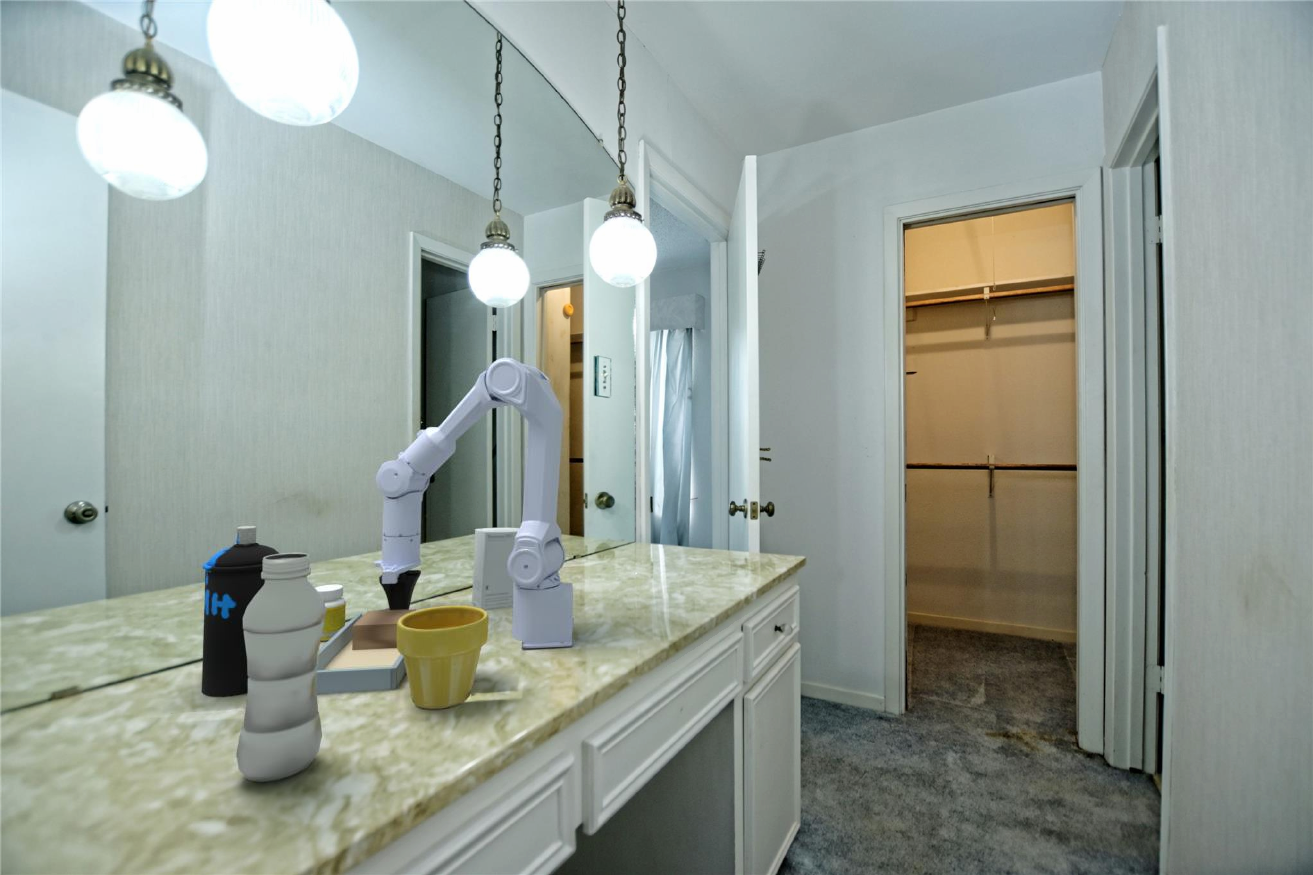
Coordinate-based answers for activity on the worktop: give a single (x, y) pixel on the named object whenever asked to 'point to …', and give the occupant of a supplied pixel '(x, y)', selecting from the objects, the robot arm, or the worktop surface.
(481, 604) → the skincare box
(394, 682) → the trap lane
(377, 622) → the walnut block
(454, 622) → the plant pot
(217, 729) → the worktop surface
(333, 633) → the supplement bottle
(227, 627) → the aerosol can
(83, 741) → the worktop surface
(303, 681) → the plastic bottle
